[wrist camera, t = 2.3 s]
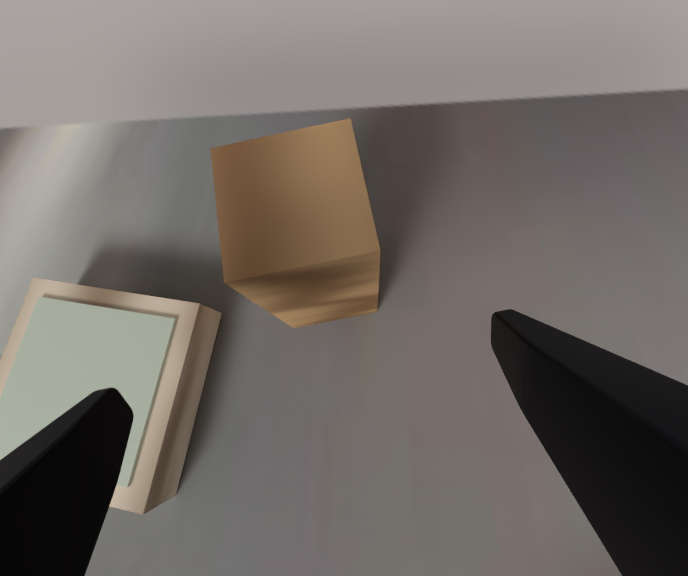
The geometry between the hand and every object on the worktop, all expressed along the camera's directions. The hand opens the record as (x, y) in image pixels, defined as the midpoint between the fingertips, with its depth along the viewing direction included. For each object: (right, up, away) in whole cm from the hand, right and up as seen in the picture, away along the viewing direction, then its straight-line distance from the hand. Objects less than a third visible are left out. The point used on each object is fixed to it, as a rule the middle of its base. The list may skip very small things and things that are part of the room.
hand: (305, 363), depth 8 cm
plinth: (-12, -4, +12) cm, 18 cm away
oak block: (0, +2, +13) cm, 13 cm away
